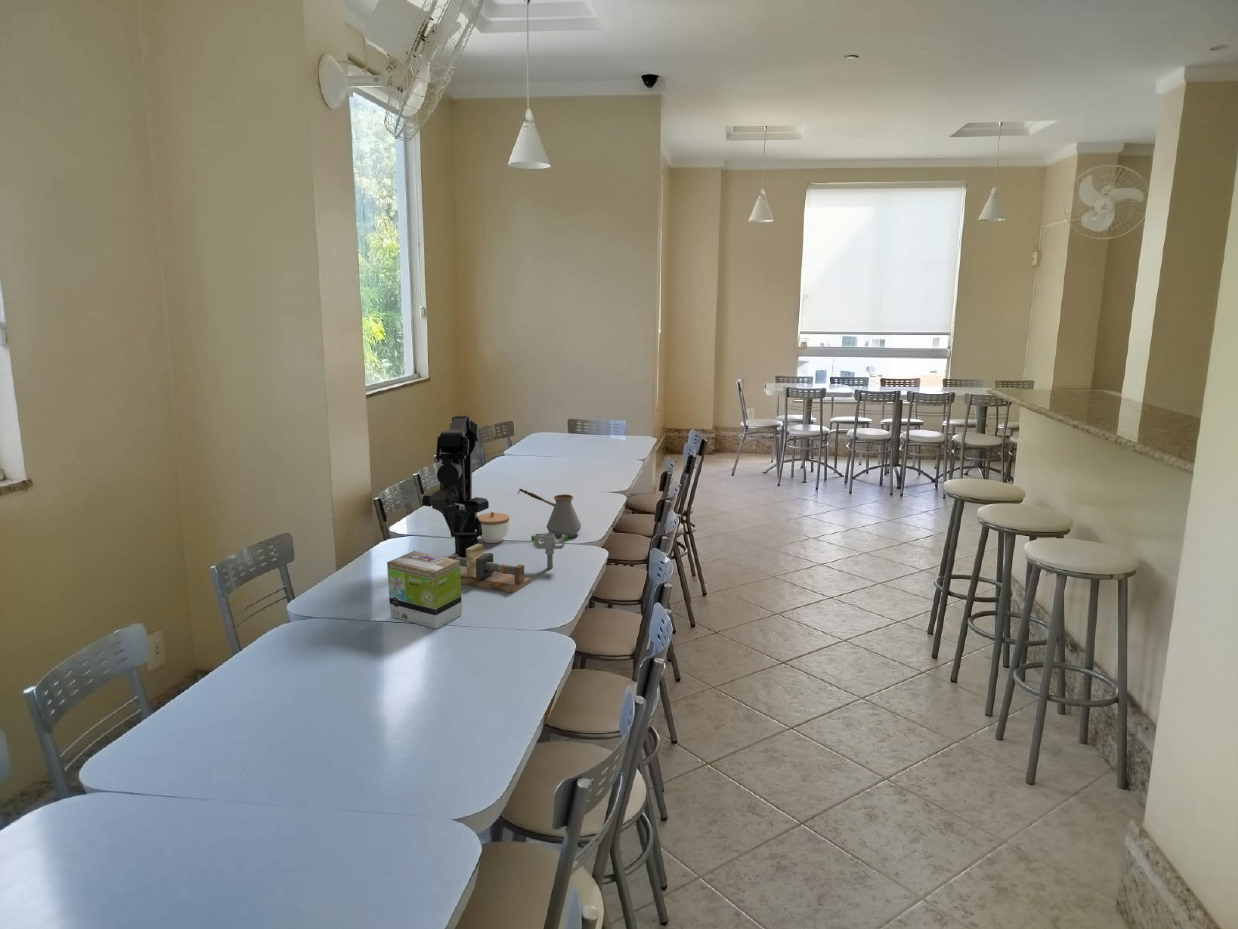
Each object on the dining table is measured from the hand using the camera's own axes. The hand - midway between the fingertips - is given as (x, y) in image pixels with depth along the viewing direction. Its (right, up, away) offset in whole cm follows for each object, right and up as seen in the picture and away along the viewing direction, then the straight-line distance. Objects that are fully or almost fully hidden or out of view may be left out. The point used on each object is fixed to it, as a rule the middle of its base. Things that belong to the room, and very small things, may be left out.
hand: (456, 532), depth 220 cm
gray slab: (+8, -12, -1) cm, 15 cm away
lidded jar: (+5, -6, +36) cm, 37 cm away
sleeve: (+6, -12, 0) cm, 13 cm away
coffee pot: (+22, -4, +43) cm, 49 cm away
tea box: (-2, -19, -25) cm, 32 cm away
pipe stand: (+9, -14, -1) cm, 16 cm away
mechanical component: (+25, -11, +10) cm, 29 cm away
